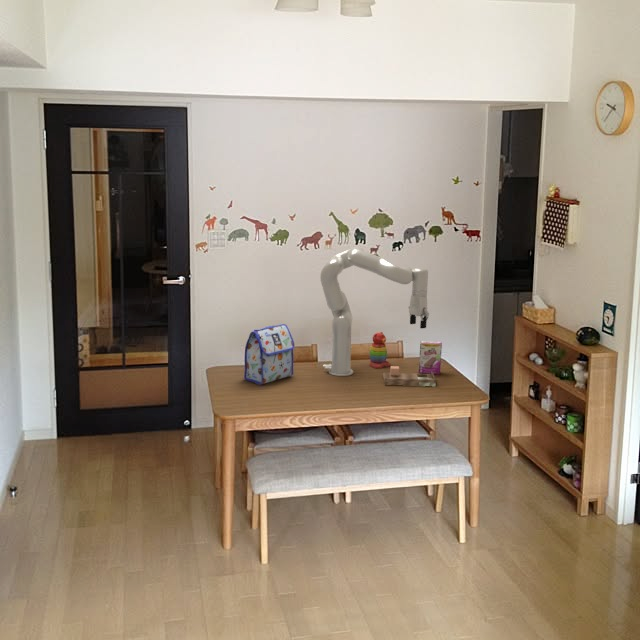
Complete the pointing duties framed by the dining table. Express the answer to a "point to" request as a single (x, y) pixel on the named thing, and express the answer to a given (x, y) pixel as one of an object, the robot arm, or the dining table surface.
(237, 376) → the dining table surface
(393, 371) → the block
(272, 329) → the lunch bag
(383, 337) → the stacking bear
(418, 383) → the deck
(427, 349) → the candy bar box
